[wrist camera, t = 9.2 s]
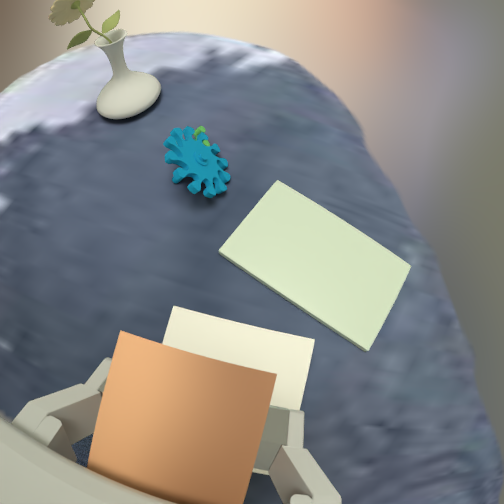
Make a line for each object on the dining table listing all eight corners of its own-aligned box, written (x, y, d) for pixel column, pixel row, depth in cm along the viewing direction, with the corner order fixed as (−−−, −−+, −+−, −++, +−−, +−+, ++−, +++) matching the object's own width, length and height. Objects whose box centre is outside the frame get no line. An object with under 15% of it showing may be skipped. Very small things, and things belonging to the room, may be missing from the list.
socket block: (148, 433, 29) (137, 439, 25) (180, 314, 34) (173, 305, 31) (277, 466, 28) (281, 476, 24) (306, 344, 33) (314, 339, 30)
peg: (172, 424, 16) (86, 468, 6) (188, 360, 18) (120, 330, 7) (240, 442, 16) (238, 519, 6) (256, 378, 17) (277, 373, 7)
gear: (232, 206, 38) (162, 164, 32) (200, 227, 41) (134, 191, 35) (235, 146, 44) (179, 105, 37) (207, 166, 47) (153, 132, 41)
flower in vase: (150, 75, 51) (126, -43, 28) (172, 105, 47) (147, -35, 24) (86, 104, 48) (41, -10, 25) (98, 140, 44) (41, 7, 21)
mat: (219, 254, 37) (218, 250, 36) (276, 184, 41) (277, 179, 40) (365, 351, 33) (368, 350, 32) (407, 268, 37) (411, 266, 36)
